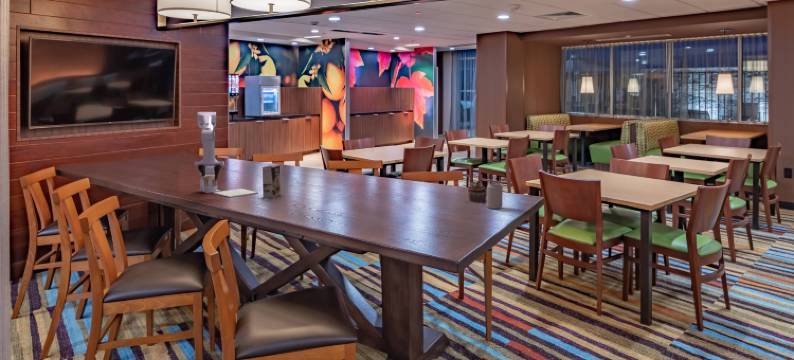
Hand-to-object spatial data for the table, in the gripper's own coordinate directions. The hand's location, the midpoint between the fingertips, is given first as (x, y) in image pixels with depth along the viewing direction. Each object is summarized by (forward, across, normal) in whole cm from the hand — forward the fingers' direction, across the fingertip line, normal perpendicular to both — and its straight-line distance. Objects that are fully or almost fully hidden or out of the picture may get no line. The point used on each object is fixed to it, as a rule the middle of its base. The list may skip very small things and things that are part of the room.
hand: (210, 179), depth 288 cm
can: (+10, +142, -25) cm, 145 cm away
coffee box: (+10, +30, +8) cm, 33 cm away
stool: (+3, 0, 0) cm, 3 cm away
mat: (+10, +8, +16) cm, 21 cm away
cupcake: (+10, +137, -7) cm, 138 cm away
